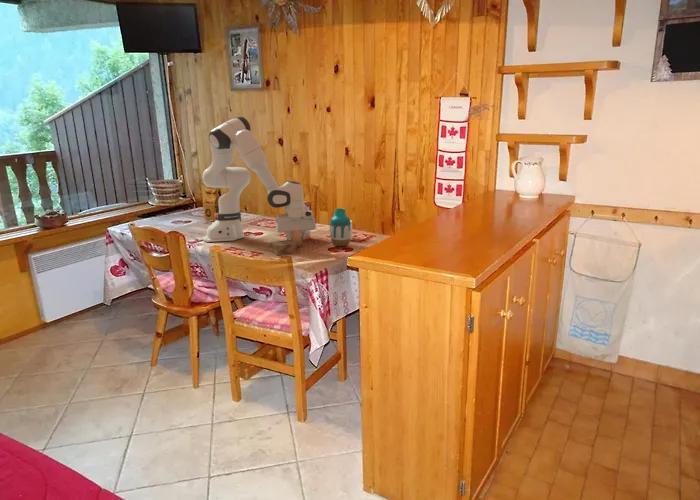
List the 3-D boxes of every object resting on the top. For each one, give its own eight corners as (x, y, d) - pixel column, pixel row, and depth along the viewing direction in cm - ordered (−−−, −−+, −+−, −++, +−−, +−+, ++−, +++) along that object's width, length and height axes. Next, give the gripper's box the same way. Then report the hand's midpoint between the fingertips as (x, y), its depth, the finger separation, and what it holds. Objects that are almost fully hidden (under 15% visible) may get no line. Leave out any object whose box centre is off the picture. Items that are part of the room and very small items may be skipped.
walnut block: (277, 256, 247) (276, 246, 246) (271, 251, 256) (270, 242, 254) (296, 253, 251) (296, 243, 250) (290, 249, 260) (289, 239, 259)
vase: (332, 243, 269) (330, 207, 264) (352, 243, 268) (351, 207, 263) (329, 248, 258) (328, 211, 254) (350, 248, 257) (349, 210, 253)
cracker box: (295, 244, 270) (293, 204, 264) (286, 242, 273) (284, 204, 268) (311, 238, 281) (309, 201, 276) (302, 237, 284) (300, 200, 279)
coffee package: (214, 225, 325) (211, 190, 320) (202, 223, 333) (199, 189, 328) (226, 222, 333) (224, 189, 328) (215, 220, 341) (212, 187, 335)
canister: (293, 247, 261) (292, 229, 259) (290, 245, 266) (290, 227, 264) (303, 246, 263) (302, 228, 261) (300, 244, 268) (299, 226, 265)
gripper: (276, 215, 254) (278, 242, 257) (316, 212, 261) (317, 238, 264) (274, 213, 260) (275, 240, 263) (312, 210, 266) (313, 236, 270)
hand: (296, 239), depth 264 cm, fingers closed on canister, 5 cm apart
